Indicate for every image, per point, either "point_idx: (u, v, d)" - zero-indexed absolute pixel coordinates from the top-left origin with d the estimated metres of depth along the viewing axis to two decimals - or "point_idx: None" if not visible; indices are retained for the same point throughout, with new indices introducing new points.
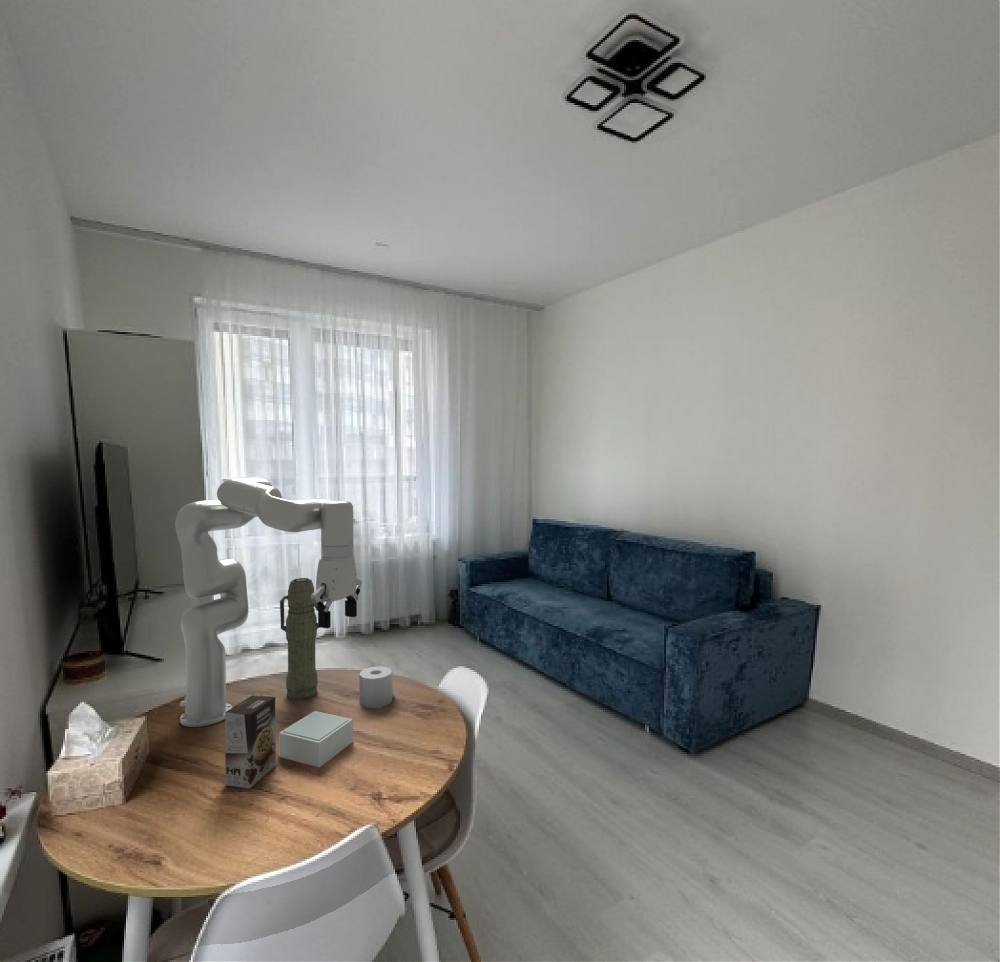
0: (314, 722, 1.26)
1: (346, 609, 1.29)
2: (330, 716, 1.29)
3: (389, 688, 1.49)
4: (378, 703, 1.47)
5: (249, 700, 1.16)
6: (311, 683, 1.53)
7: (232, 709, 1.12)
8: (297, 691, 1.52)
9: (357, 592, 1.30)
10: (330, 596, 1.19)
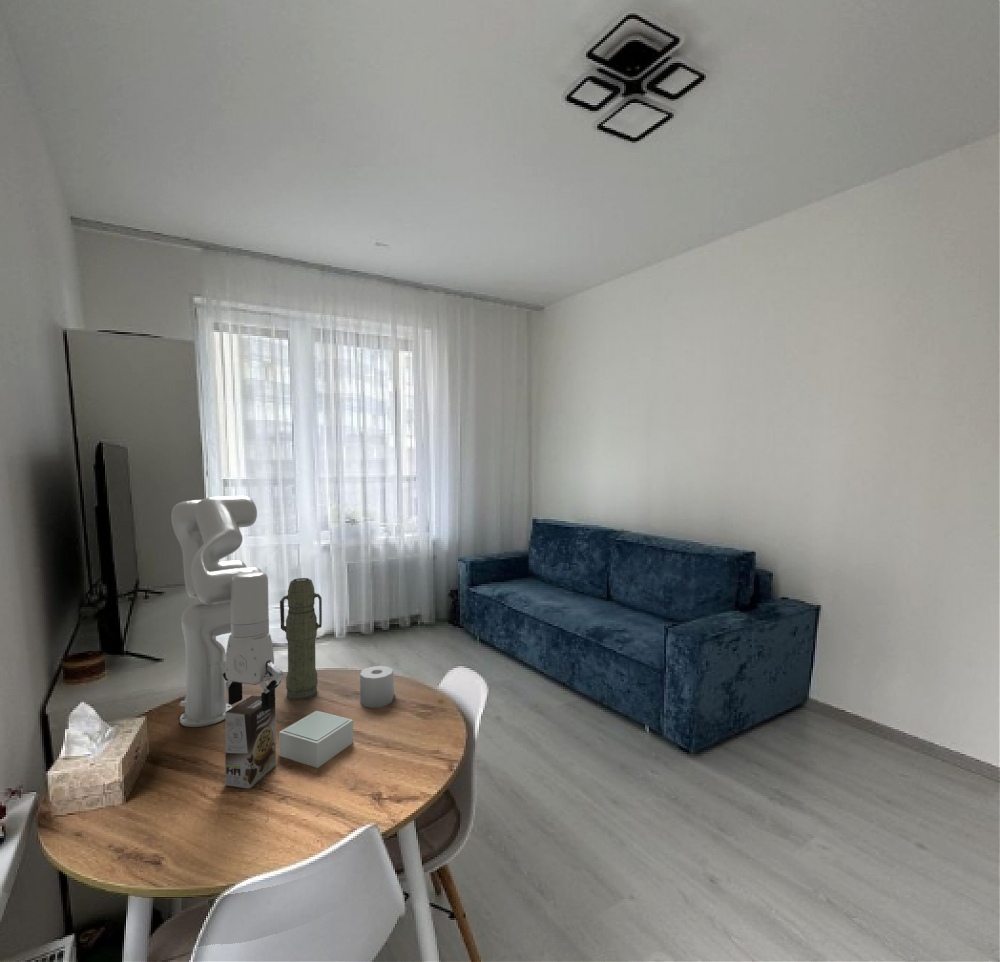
0: (314, 722, 1.26)
1: (233, 696, 1.14)
2: (331, 716, 1.29)
3: (390, 687, 1.50)
4: (379, 703, 1.47)
5: (250, 700, 1.16)
6: (311, 683, 1.53)
7: (232, 709, 1.12)
8: (297, 691, 1.52)
9: None
10: None
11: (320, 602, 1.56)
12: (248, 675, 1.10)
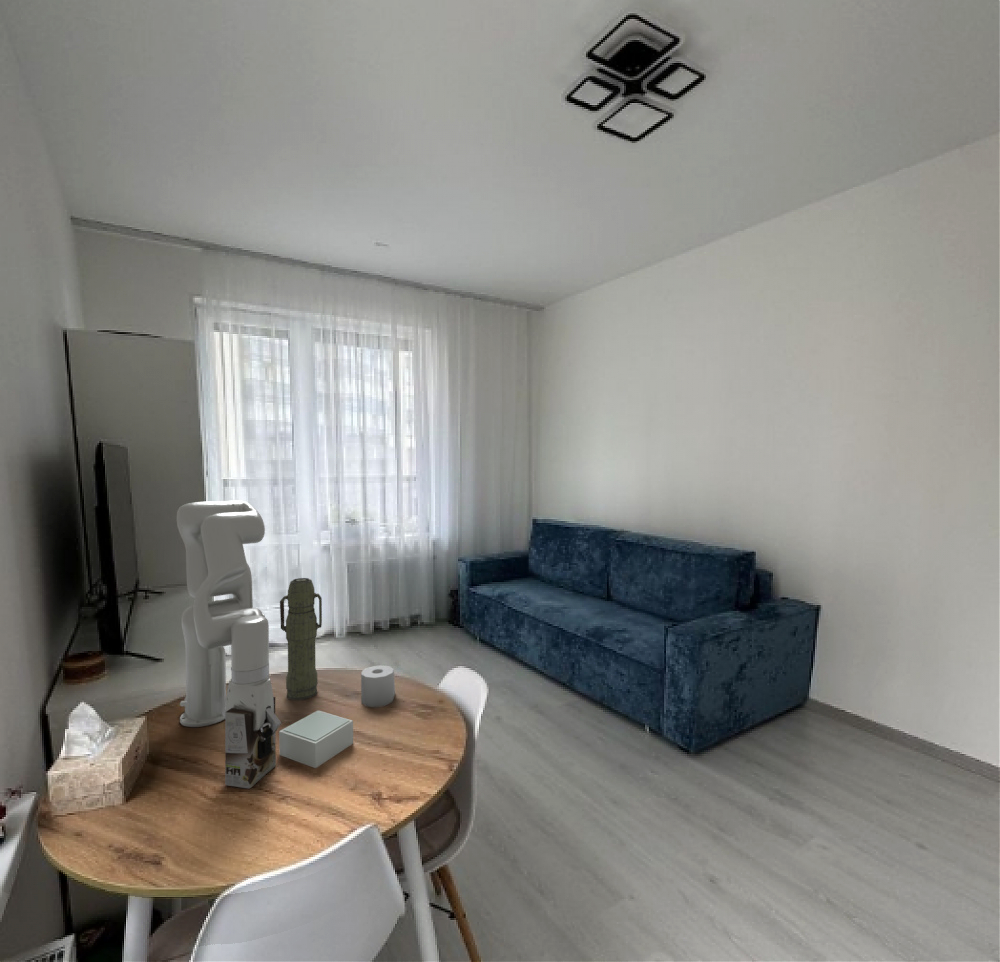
0: (315, 722, 1.26)
1: None
2: (331, 716, 1.29)
3: (391, 687, 1.50)
4: (380, 702, 1.48)
5: None
6: (311, 683, 1.53)
7: (232, 709, 1.12)
8: (297, 691, 1.52)
9: None
10: None
11: (320, 602, 1.56)
12: None
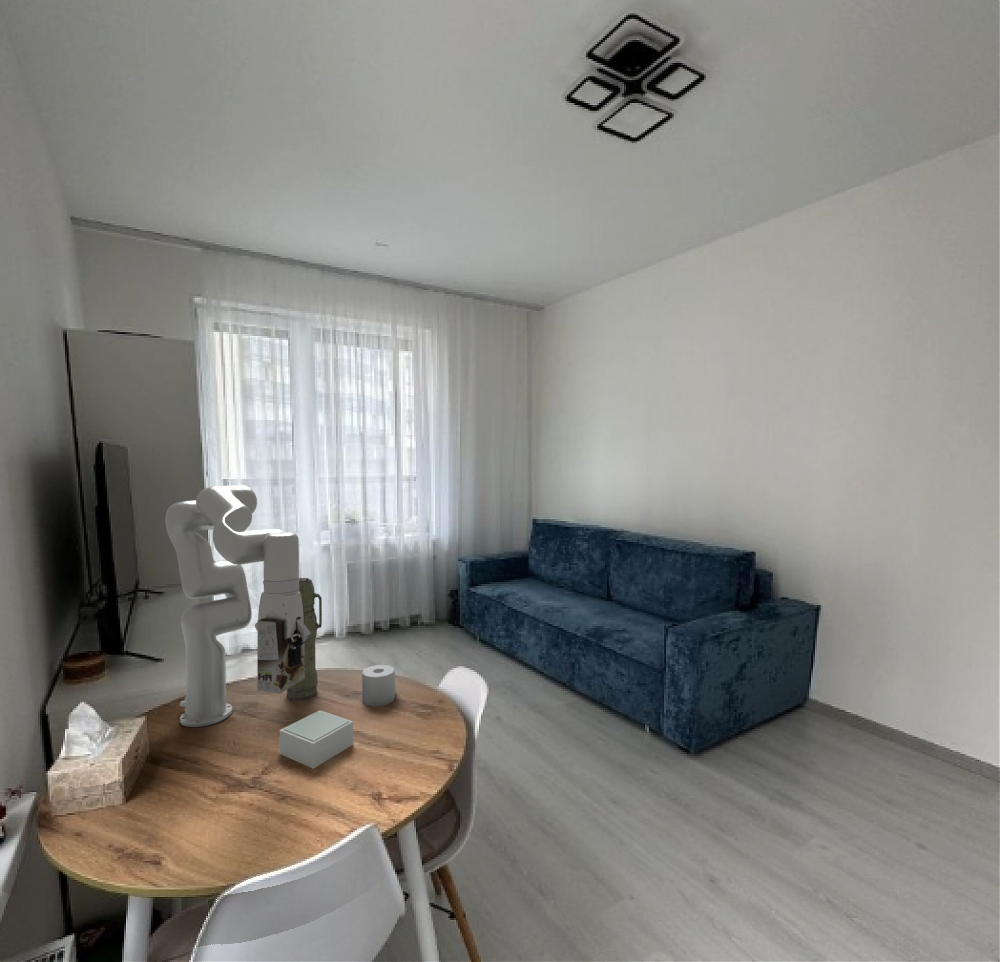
0: (315, 722, 1.26)
1: None
2: (332, 717, 1.29)
3: (392, 686, 1.51)
4: (381, 701, 1.48)
5: None
6: (311, 683, 1.53)
7: (264, 618, 1.16)
8: (297, 691, 1.52)
9: None
10: None
11: (320, 602, 1.56)
12: None
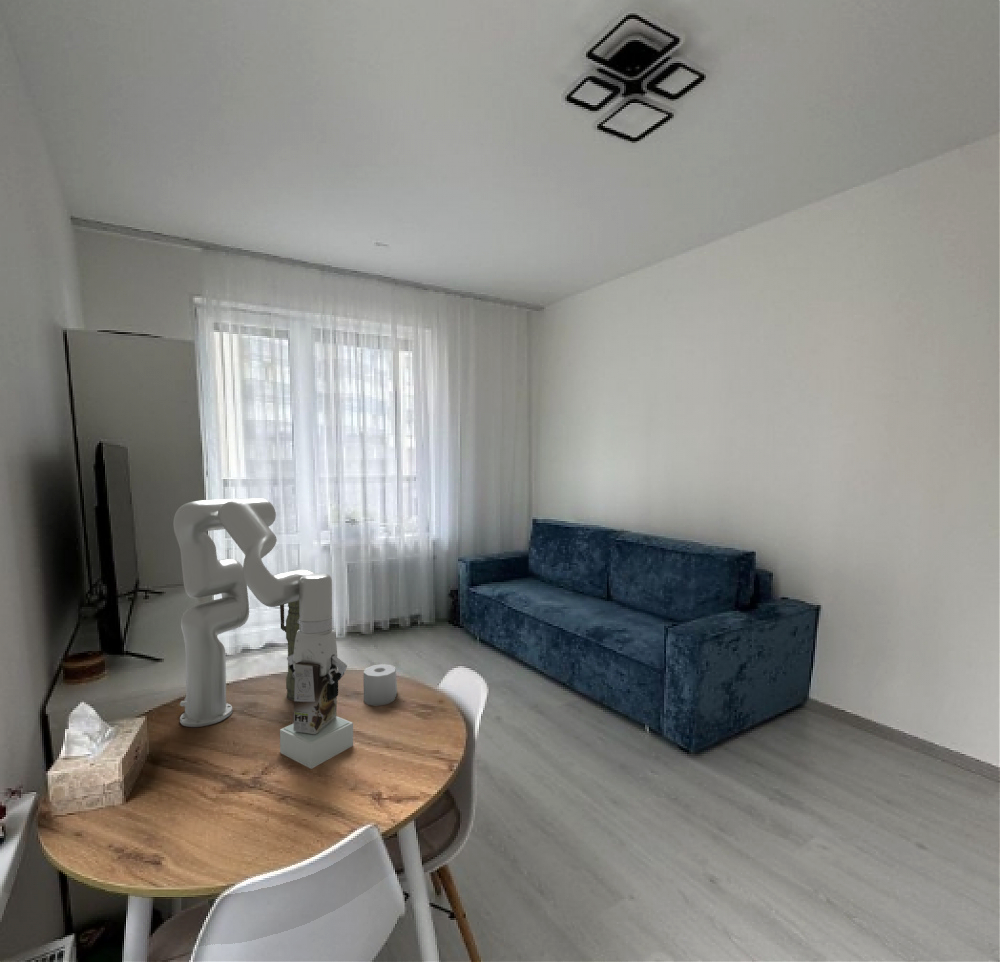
0: None
1: None
2: None
3: (393, 685, 1.51)
4: (382, 700, 1.49)
5: None
6: None
7: None
8: None
9: None
10: None
11: None
12: None
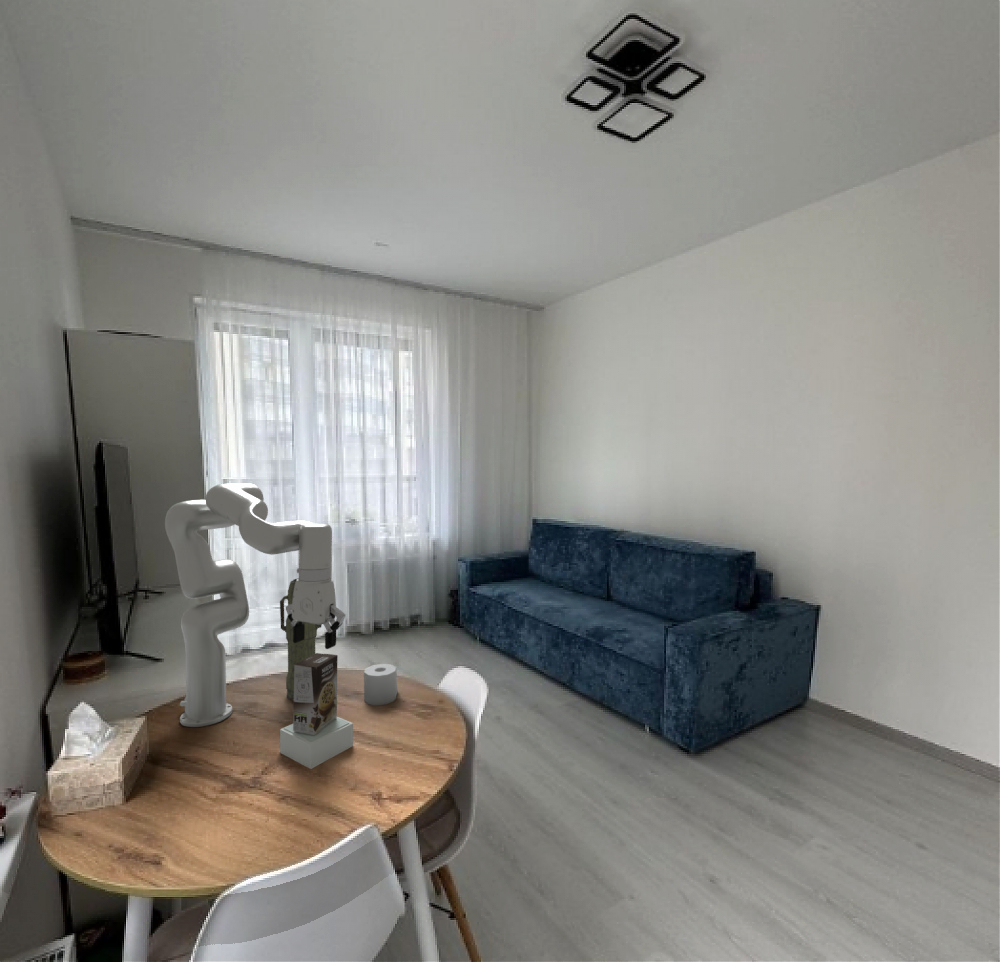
0: None
1: (297, 635, 1.25)
2: None
3: (393, 685, 1.51)
4: (383, 700, 1.49)
5: (315, 656, 1.27)
6: None
7: (300, 662, 1.23)
8: None
9: None
10: None
11: None
12: (314, 616, 1.21)
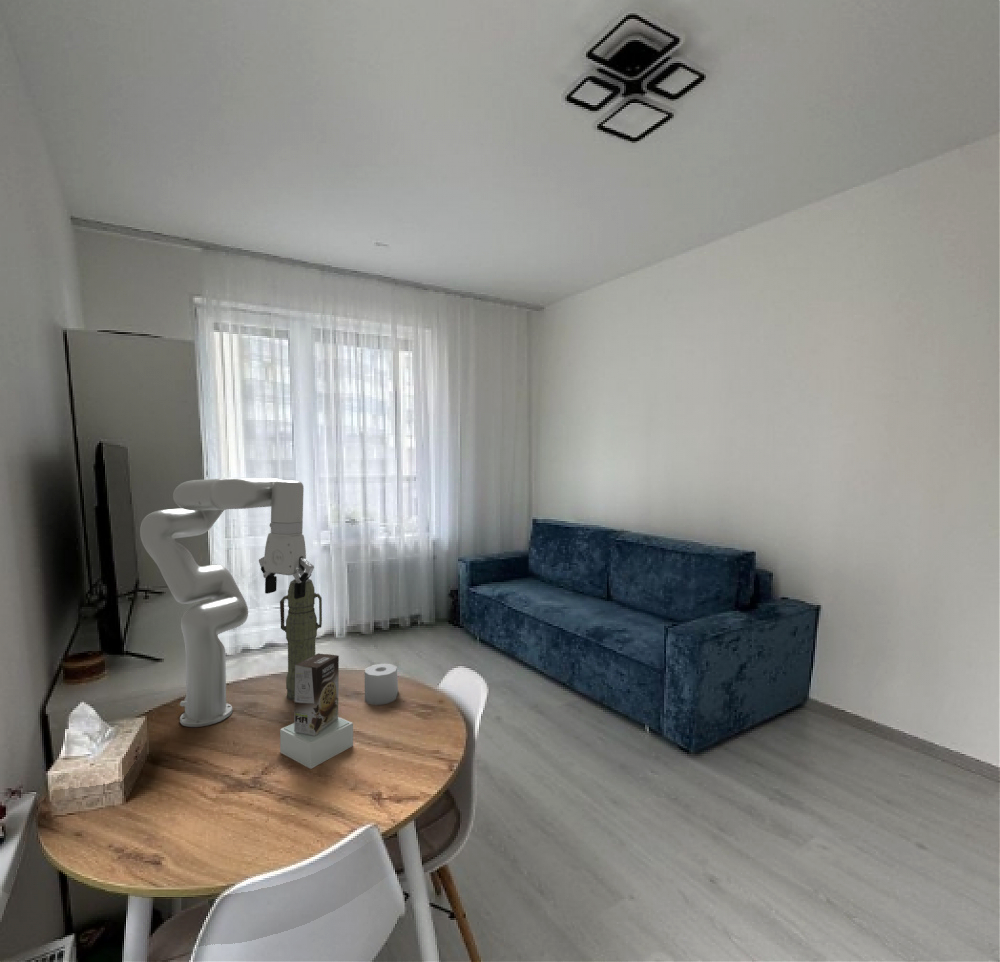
0: None
1: (269, 586, 1.32)
2: None
3: (394, 685, 1.52)
4: (383, 700, 1.49)
5: (316, 657, 1.27)
6: None
7: (301, 663, 1.22)
8: None
9: None
10: None
11: (320, 602, 1.56)
12: (284, 567, 1.27)
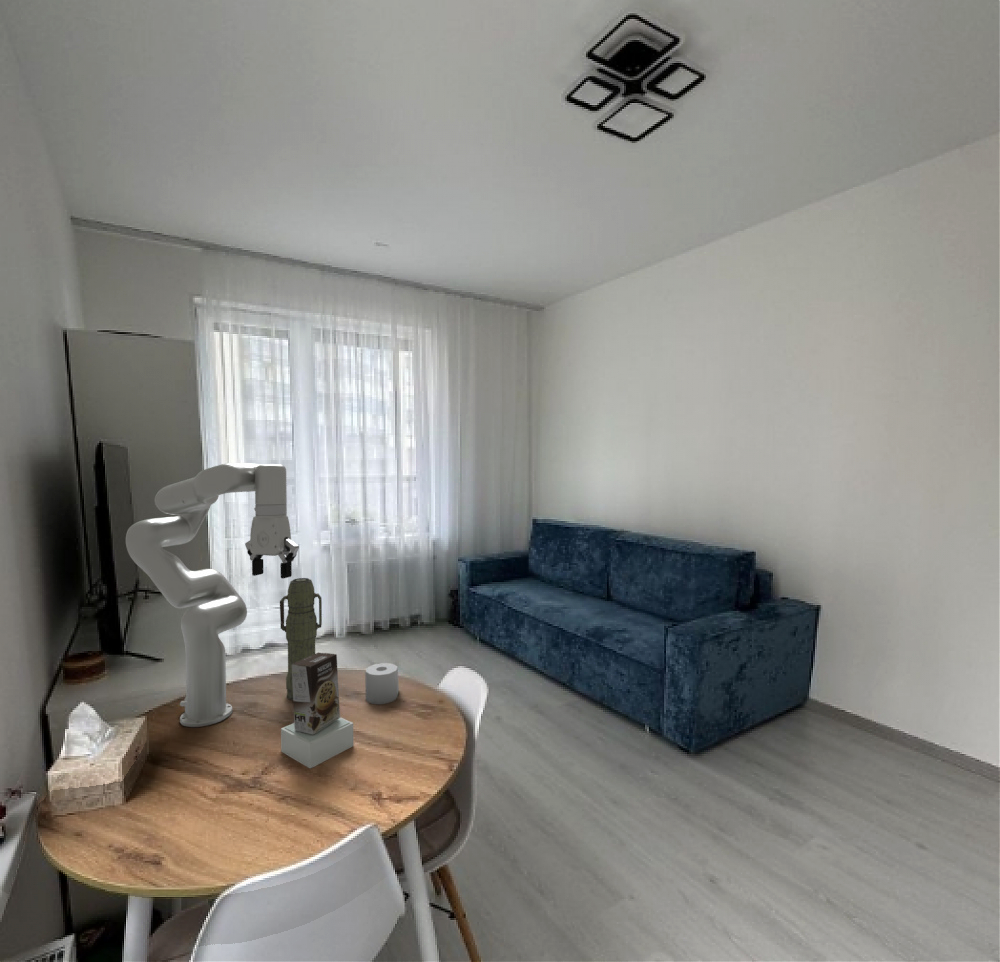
0: None
1: (256, 568, 1.35)
2: None
3: (395, 684, 1.52)
4: (384, 699, 1.49)
5: (314, 656, 1.27)
6: None
7: (298, 662, 1.23)
8: None
9: None
10: None
11: (320, 602, 1.56)
12: (269, 547, 1.31)
